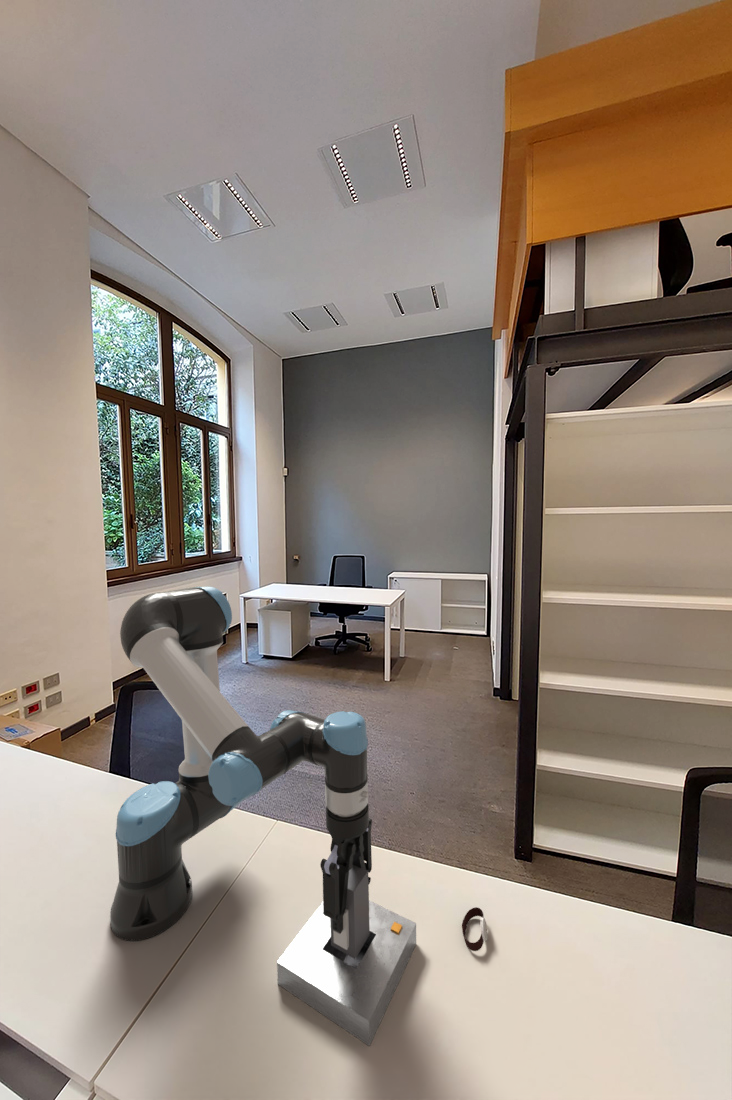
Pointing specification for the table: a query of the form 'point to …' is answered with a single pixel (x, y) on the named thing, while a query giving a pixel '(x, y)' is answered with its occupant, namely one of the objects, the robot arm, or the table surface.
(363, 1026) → the socket
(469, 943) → the watch
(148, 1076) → the table surface
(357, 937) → the plug
